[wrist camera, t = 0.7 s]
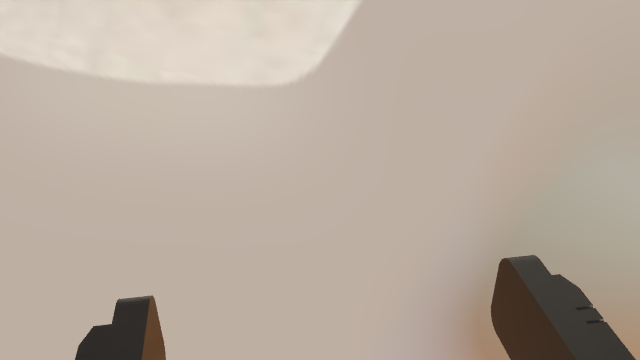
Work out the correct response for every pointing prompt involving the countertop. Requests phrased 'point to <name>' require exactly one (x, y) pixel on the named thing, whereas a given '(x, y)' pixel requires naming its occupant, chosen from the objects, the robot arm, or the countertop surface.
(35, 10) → the countertop surface
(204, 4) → the countertop surface
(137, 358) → the robot arm
